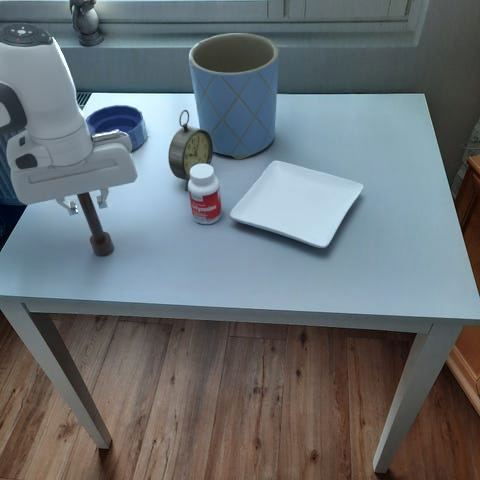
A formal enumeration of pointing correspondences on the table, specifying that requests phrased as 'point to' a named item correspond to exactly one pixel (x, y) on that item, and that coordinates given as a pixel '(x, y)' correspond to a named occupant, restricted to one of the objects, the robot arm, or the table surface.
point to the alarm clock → (189, 150)
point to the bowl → (119, 122)
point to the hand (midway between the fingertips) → (88, 209)
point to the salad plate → (297, 203)
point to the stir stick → (95, 227)
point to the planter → (236, 91)
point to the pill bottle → (204, 194)
